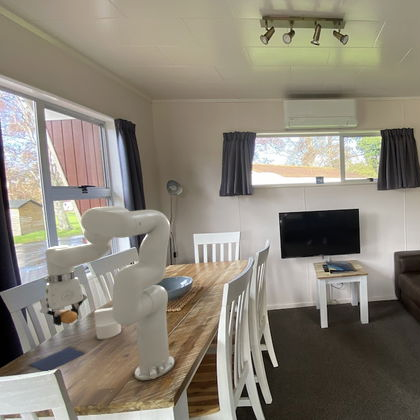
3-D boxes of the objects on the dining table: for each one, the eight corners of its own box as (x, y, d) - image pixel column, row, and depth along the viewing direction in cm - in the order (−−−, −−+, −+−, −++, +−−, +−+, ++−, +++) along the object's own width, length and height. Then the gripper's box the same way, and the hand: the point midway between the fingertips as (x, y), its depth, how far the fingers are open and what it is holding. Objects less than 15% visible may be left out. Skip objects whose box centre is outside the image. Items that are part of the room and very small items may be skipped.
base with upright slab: (123, 327, 133) (121, 303, 132) (117, 336, 124) (114, 311, 123) (101, 331, 129) (99, 307, 128) (93, 340, 121) (90, 315, 120)
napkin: (84, 353, 112) (84, 353, 112) (46, 372, 101) (46, 371, 101) (68, 347, 116) (68, 347, 116) (30, 365, 105) (29, 364, 105)
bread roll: (80, 321, 108) (79, 310, 108) (66, 327, 104) (65, 315, 103) (67, 316, 112) (66, 306, 111) (52, 322, 107) (51, 311, 107)
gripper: (37, 285, 97) (43, 334, 98) (92, 271, 112) (96, 313, 114) (27, 283, 100) (32, 330, 101) (82, 270, 115) (86, 310, 117)
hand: (66, 321), depth 108 cm, fingers closed on bread roll, 4 cm apart
